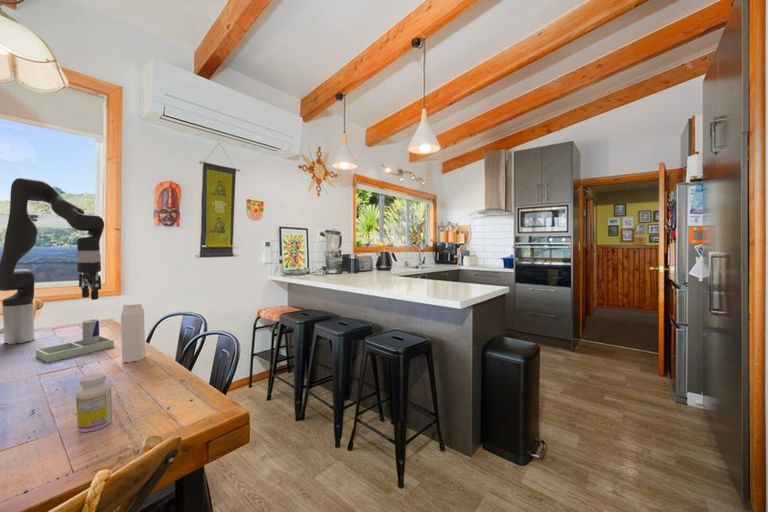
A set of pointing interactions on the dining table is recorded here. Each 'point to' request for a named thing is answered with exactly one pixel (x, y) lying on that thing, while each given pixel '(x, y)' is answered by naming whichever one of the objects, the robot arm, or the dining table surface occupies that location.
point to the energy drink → (90, 332)
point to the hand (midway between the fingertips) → (90, 298)
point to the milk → (132, 333)
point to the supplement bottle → (93, 403)
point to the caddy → (71, 349)
